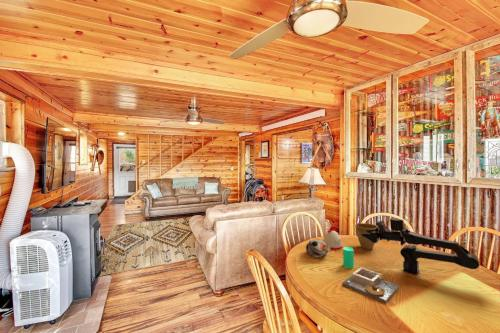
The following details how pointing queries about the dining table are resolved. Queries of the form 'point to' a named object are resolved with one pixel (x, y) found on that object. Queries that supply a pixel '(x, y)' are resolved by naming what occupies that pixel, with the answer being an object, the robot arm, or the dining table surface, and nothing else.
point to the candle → (348, 257)
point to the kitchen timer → (332, 239)
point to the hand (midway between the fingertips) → (364, 232)
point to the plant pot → (363, 241)
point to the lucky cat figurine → (317, 248)
